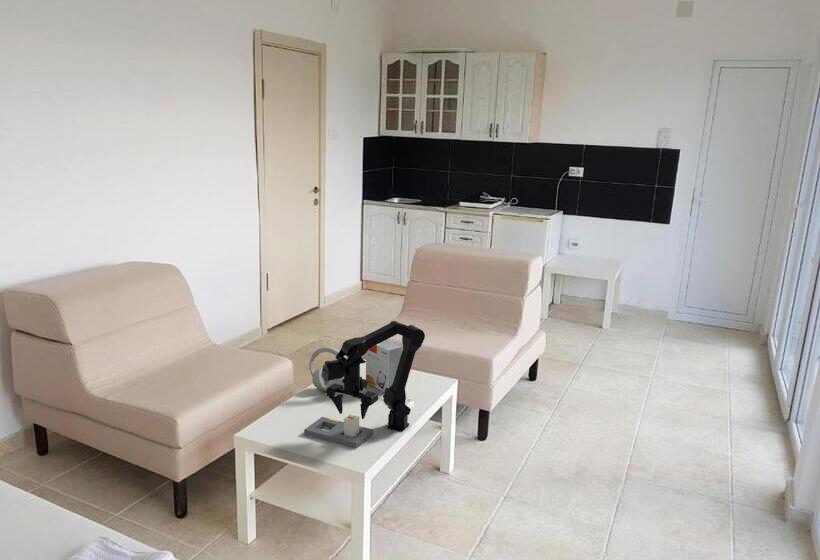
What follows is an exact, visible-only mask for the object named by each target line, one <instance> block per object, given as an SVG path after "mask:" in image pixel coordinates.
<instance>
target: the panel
mask: <svg viewBox="0 0 820 560" xmlns="http://www.w3.org/2000/svg"><path fill="white" fill-rule="evenodd" d="M323 427H326V428H329V429H330V430H324V429H321V428H323ZM303 434H304V435H305V436H308V437H312V438H316V439H320V440H323V441H327V442H331V443H335V444H339V445H342V446H345V447H349V448H354V449H358V448H359V447H360V446H362V444H364V442H366V441H367V440H368V439H369V438H371V437H372V436H373V435H374V430H373V428H369V427H365V426H361V425H359V435H358V436H356V437H355V438H352V437H349V436H345V435H344V421H341V420H338V419H337V420H336V419H333V418H329V417H325V416H321V417H320V418H318V419H317V420H315V421H314V422H313V423H311V424H310V425H308V426H307V427H306V428H304V429H303Z"/></svg>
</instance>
